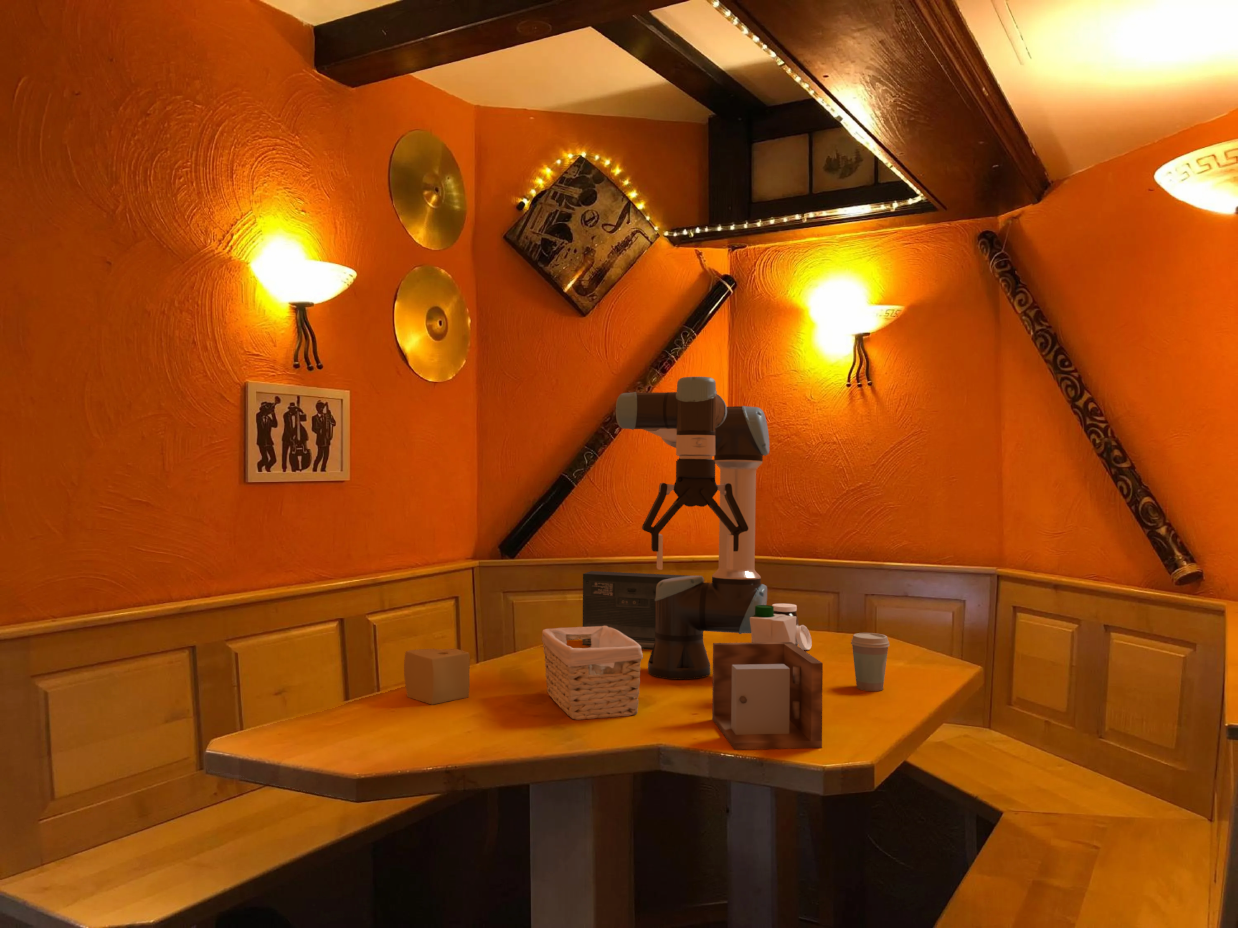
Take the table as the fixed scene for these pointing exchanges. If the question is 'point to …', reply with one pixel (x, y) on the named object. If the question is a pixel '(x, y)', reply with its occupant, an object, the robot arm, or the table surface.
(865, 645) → the coffee cup
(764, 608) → the milk carton
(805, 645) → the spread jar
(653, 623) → the cassette player
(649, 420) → the robot arm
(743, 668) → the door
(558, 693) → the storage basket
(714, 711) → the cabinet
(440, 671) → the beige cube with hole
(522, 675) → the table surface
